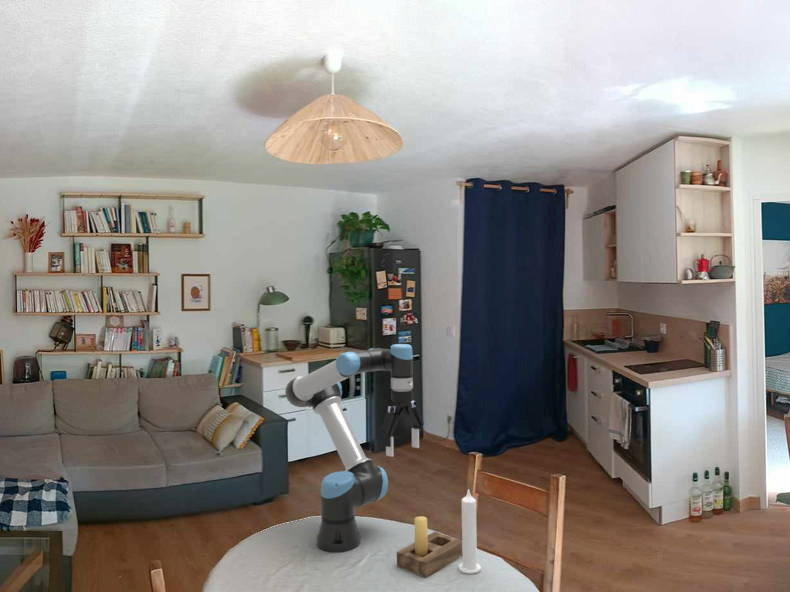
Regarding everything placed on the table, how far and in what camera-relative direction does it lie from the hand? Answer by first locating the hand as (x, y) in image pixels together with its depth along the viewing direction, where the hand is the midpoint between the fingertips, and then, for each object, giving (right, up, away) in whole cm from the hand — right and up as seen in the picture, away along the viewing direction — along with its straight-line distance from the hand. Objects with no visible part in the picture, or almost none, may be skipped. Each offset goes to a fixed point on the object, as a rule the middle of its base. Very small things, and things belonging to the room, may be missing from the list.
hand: (403, 451), depth 196 cm
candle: (+21, -33, -16) cm, 42 cm away
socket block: (+9, -33, -10) cm, 35 cm away
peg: (+6, -33, -14) cm, 36 cm away
